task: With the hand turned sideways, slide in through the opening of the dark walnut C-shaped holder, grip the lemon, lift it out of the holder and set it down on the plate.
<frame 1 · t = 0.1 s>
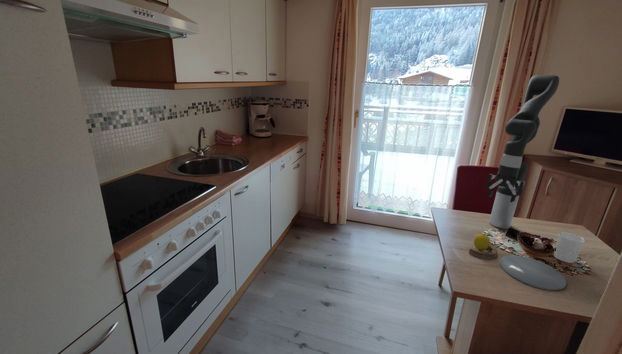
hand: (500, 199, 130), 17 cm above the table, tool pointing down, fingers open, 8 cm apart
plate: (530, 272, 106), on the table
lemon: (479, 251, 119), on the table
lemon holder: (479, 250, 119), on the table
white cup: (563, 258, 116), on the table
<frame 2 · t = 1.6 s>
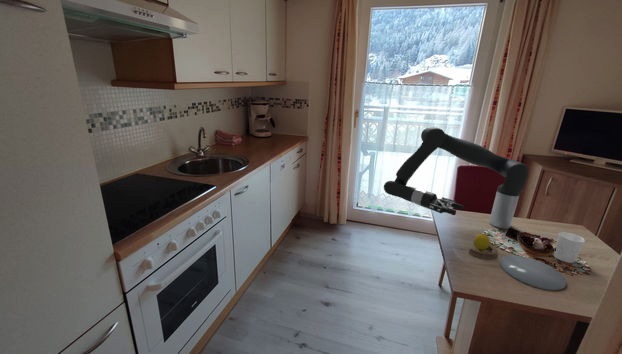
hand: (459, 210, 122), 15 cm above the table, tool horizontal, fingers open, 8 cm apart
nothing on the table moved.
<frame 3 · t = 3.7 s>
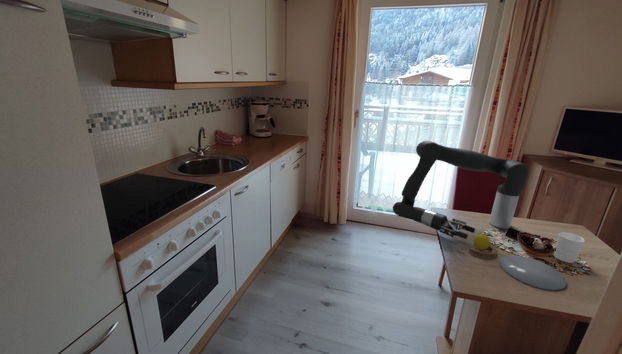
hand: (470, 233, 121), 6 cm above the table, tool horizontal, fingers open, 8 cm apart
nothing on the table moved.
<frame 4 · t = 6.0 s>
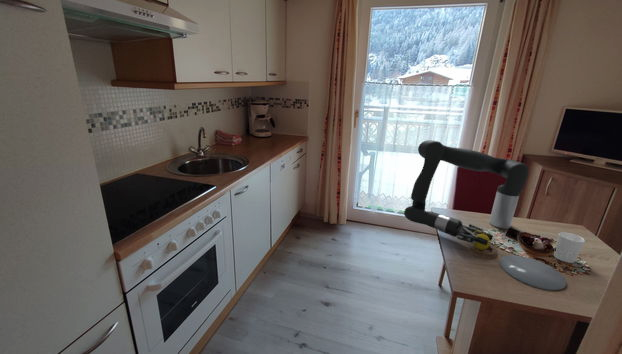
hand: (489, 240, 116), 6 cm above the table, tool horizontal, fingers closed on lemon, 5 cm apart
lemon: (479, 251, 119), on the table, touching gripper
everything else where it was.
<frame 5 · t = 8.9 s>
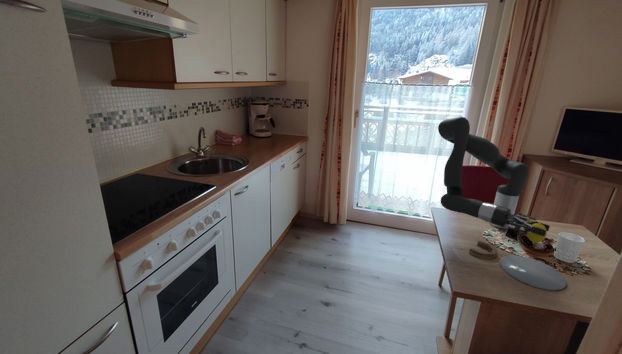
hand: (547, 230, 100), 18 cm above the table, tool horizontal, fingers closed on lemon, 5 cm apart
lemon: (533, 243, 104), point 12 cm above the table, touching gripper
everything else where it was.
when the fingers open (7 cm above the table, at t = 11.9 s): lemon stays where it is, resting on plate.
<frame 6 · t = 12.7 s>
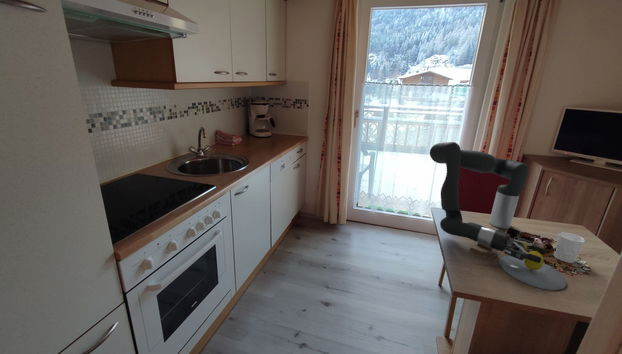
hand: (543, 256, 102), 8 cm above the table, tool horizontal, fingers open, 8 cm apart
lemon: (530, 270, 106), point 1 cm above the table, touching plate
everything else where it was.
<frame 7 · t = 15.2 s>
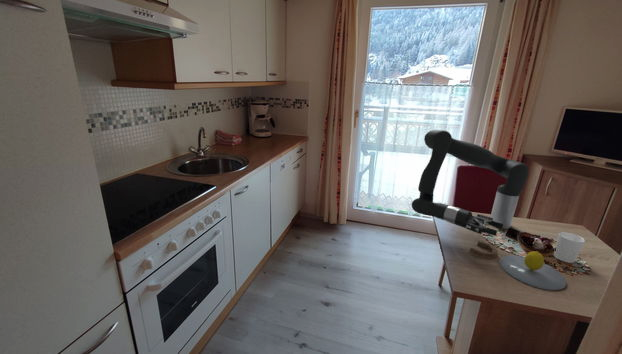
hand: (499, 229, 113), 12 cm above the table, tool horizontal, fingers open, 8 cm apart
nothing on the table moved.
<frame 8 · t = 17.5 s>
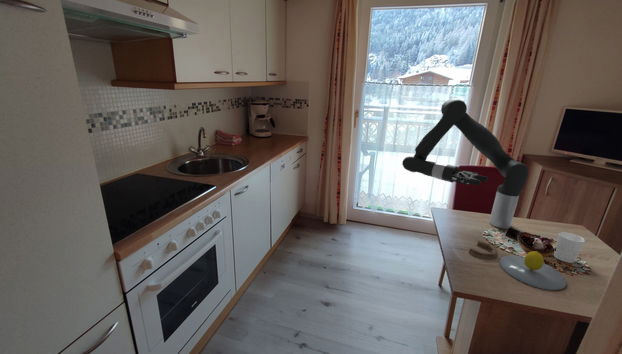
hand: (483, 181, 119), 28 cm above the table, tool horizontal, fingers open, 8 cm apart
nothing on the table moved.
at the end: lemon 0.2 cm from the plate (horizontally); lemon touching plate; the gripper is holding nothing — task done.
